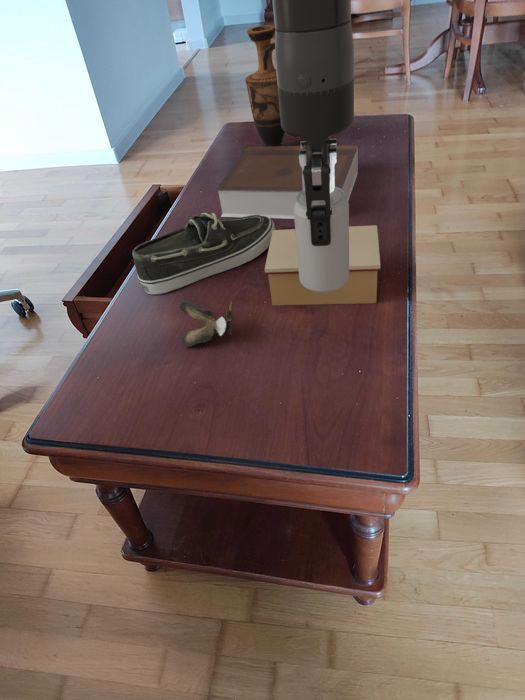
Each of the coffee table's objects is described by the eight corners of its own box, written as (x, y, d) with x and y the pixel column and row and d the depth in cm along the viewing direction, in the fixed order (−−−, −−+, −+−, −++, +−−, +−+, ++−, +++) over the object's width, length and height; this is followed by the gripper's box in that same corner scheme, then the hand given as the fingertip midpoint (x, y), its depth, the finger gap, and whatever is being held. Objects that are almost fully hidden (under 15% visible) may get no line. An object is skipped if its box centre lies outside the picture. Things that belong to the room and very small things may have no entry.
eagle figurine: (232, 309, 89) (179, 308, 89) (233, 294, 83) (176, 292, 82) (231, 351, 87) (178, 350, 87) (233, 339, 80) (175, 338, 80)
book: (251, 171, 135) (248, 146, 131) (358, 171, 127) (358, 145, 123) (220, 216, 118) (215, 189, 114) (341, 220, 110) (341, 191, 106)
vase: (250, 160, 141) (232, 35, 121) (261, 145, 148) (247, 24, 128) (288, 160, 138) (276, 32, 118) (298, 144, 145) (289, 21, 125)
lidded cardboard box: (376, 263, 97) (377, 225, 91) (379, 304, 87) (380, 265, 82) (276, 266, 100) (272, 229, 95) (269, 307, 90) (264, 269, 85)
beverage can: (336, 263, 69) (334, 178, 61) (358, 287, 65) (358, 199, 57) (292, 276, 68) (284, 191, 60) (311, 302, 64) (305, 213, 56)
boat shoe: (289, 243, 106) (285, 199, 99) (158, 307, 95) (143, 262, 88) (259, 226, 113) (253, 183, 106) (134, 283, 102) (119, 240, 95)
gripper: (355, 96, 45) (355, 260, 56) (352, 54, 55) (352, 199, 66) (270, 104, 46) (286, 263, 57) (282, 61, 56) (294, 203, 67)
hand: (322, 228), depth 61 cm, fingers closed on beverage can, 6 cm apart
